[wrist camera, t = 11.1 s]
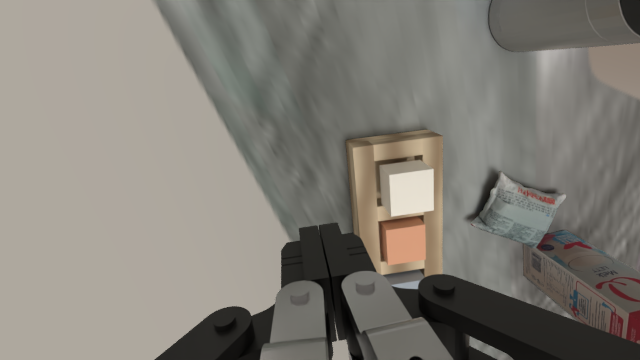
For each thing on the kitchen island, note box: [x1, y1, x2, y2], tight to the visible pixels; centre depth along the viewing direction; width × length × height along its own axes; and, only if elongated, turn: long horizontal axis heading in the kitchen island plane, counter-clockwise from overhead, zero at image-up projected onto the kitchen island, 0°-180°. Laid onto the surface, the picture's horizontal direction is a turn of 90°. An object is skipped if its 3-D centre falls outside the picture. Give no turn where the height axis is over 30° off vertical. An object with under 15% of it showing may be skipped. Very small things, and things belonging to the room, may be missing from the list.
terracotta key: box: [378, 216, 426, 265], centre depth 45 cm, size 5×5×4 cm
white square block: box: [379, 160, 434, 217], centre depth 40 cm, size 5×5×4 cm
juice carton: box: [523, 230, 640, 344], centre depth 43 cm, size 7×7×22 cm
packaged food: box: [471, 171, 566, 248], centre depth 48 cm, size 9×12×5 cm
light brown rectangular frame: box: [346, 129, 443, 277], centre depth 47 cm, size 11×26×5 cm, turn 6°
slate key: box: [383, 269, 425, 289], centre depth 48 cm, size 5×5×4 cm
